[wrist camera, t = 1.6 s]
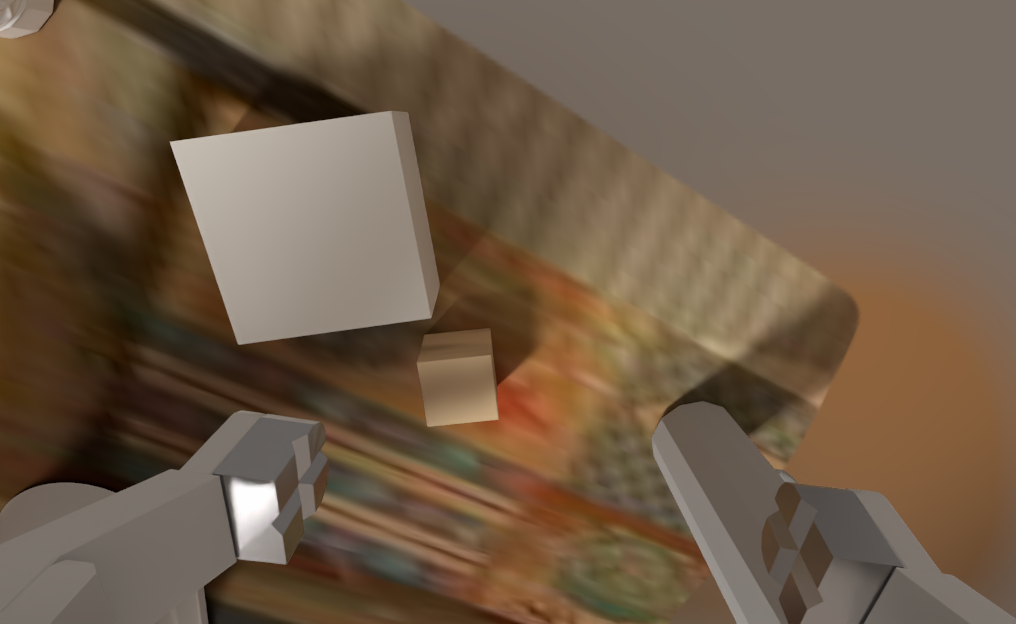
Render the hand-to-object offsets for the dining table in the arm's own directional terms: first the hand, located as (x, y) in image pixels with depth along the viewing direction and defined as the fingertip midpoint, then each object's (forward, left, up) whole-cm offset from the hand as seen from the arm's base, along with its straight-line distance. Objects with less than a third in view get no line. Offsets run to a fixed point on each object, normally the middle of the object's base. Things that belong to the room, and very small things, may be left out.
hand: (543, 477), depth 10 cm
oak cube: (-11, +4, -30) cm, 32 cm away
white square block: (+1, +11, -30) cm, 32 cm away
